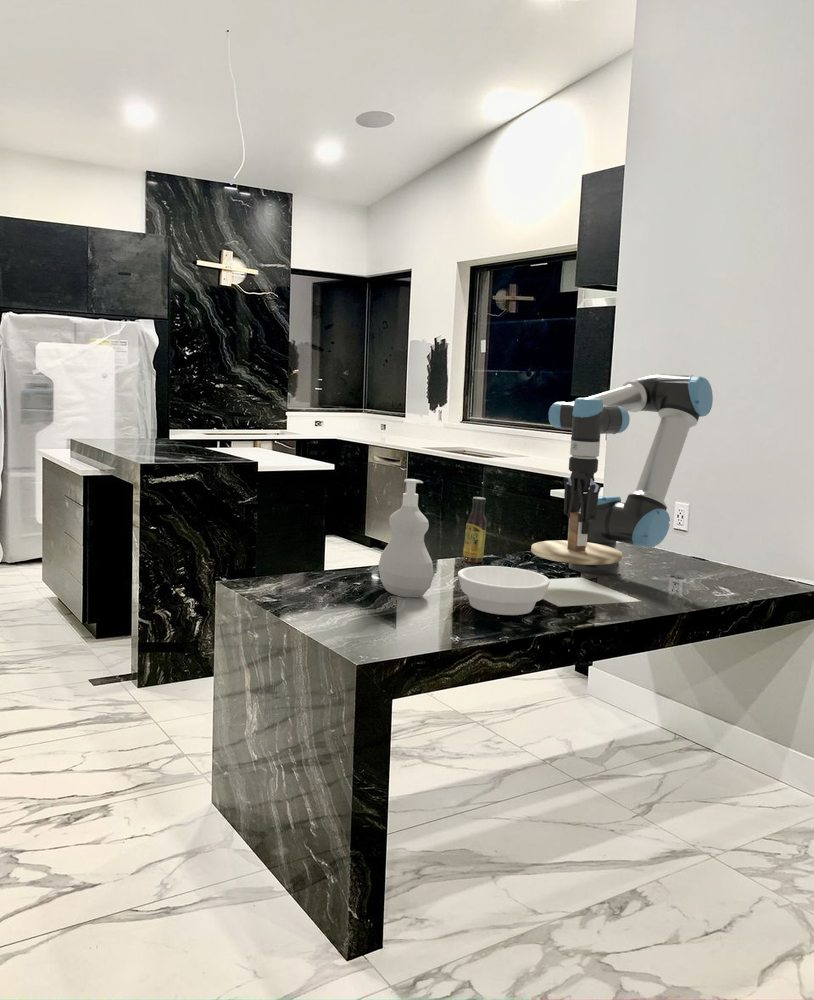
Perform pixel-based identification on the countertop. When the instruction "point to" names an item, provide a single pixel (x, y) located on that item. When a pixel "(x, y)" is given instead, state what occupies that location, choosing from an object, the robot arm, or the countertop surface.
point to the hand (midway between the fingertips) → (577, 543)
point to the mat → (582, 593)
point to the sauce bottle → (475, 532)
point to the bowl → (502, 589)
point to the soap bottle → (407, 549)
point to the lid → (576, 549)
